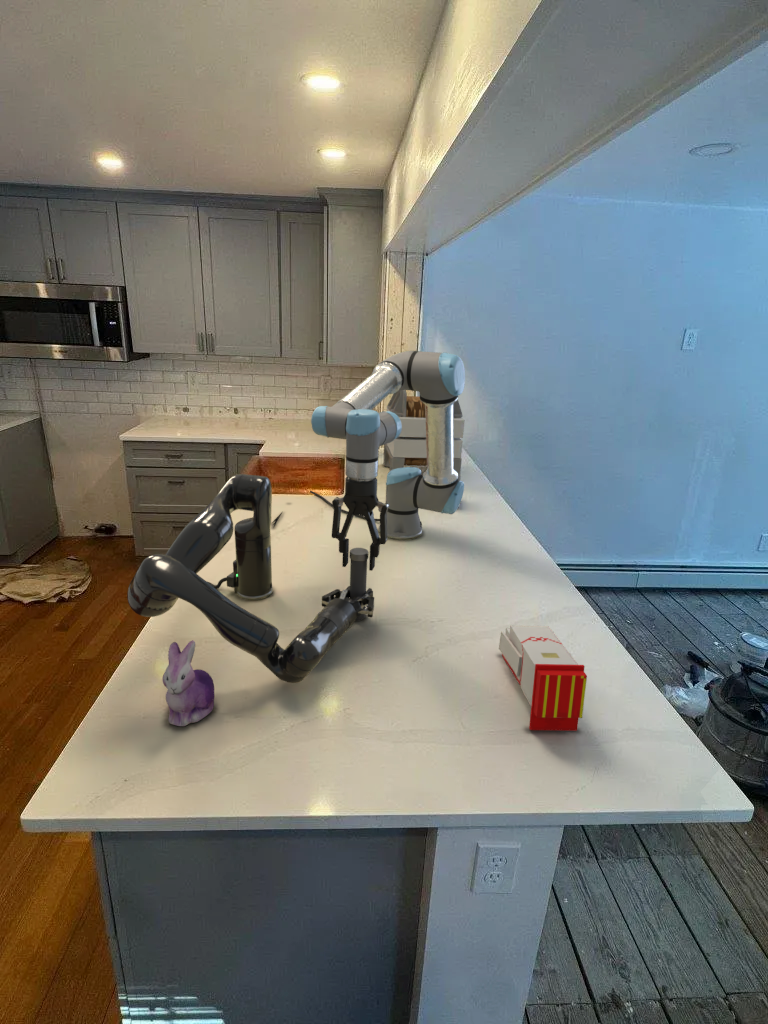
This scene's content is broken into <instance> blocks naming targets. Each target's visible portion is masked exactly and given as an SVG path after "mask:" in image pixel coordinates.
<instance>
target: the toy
mask: <svg viewBox="0 0 768 1024" xmlns="http://www.w3.org/2000/svg"><path fill="white" fill-rule="evenodd" d="M499 635H500V636H499V643H498V650H499V652H500V653H501V657H502V658H503V660H504V662H505V663H506V665H507V667H508V669H509V670H510V671H511V673H512V675H513V676H514V678H515V680H516V681H517V683H518V685H520V689H521V691H522V692H523V695H524V696H525V698H526V700H527V702H528V704H529V706H530V715H529V725H528V729H529V731H562V732H563V731H569V732H570V731H572V732H577V731H578V727H579V719H582V718H583V713H584V705H585V697H586V689H587V688H586V687H587V678H588V675H587V673H586V672H585V665H584V664H579V663H578V662H577V661H576V660H575V658H574V657H573V656H572V654H571V653H570V652H569V651H568V649H567V648H566V646H565V645H564V644H563V643H562V642H561V640H560V639H559V637H558V636H557V635H556V633H555V632H554V631H553V630H552V629H551V627H550V626H549V625H516V624H515V625H514V624H513V625H512V624H511V625H510V626H509V627H505V632H504V631H500V634H499Z"/></svg>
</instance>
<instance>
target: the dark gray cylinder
mask: <svg viewBox="0 0 768 1024" xmlns="http://www.w3.org/2000/svg"><path fill="white" fill-rule="evenodd" d="M349 564H350V565H349V568H350V569H349V570H350V571H349V586H350V598H351V599H354V598H356V597H358V596H363V595H364V593H365V592H366V591H367V579H368V578H367V577H368V576H367V575H368V559H367V560H365V561H354V560H351V559H350V563H349ZM365 607H366V606H365ZM365 607H363V609H364V608H365ZM365 619H366V614H361V615H360V616H358V617H357V618H356V619H355V621H354V622H359V621H363V620H365Z"/></svg>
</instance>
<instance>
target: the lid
mask: <svg viewBox="0 0 768 1024" xmlns="http://www.w3.org/2000/svg"><path fill="white" fill-rule="evenodd" d="M349 559H350V561H351V560H354V561H365V560H367V561H368V559H369V550H368V549H367V548H364V547H354V548H351V549H350V550H349Z"/></svg>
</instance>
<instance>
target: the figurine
mask: <svg viewBox="0 0 768 1024" xmlns="http://www.w3.org/2000/svg"><path fill="white" fill-rule="evenodd" d="M195 649H196V641H195V640H190V641H188V643H186V645H185V646H184V648H183V649H182V650H181V648H180V645H179V644H178V642H176V641H173V642H172V643H170V645H169V648H168V651H167V652H168V654H167V658H168V665H167V667H166V669H165V670H164V672H163V675H162V680H161V681H162V684H163V686H164V687H165V688H166V690H167V691H166V693H165V701H166V704H167V707H168V710H169V715H168V723H169V724H170V725H173V726H176V727H177V726H178V727H185V726H187V725H189V724H192V723H193V724H194V723H197V722H200V721H201V720H203V719H204V718H205V717H207V716H209V714H210V713H212V711H213V709H214V705H215V684H214V683H215V682H214V680H213V678H212V676H211V675H210V673H208V672H207V671H205V670H203V669H194V668H193V666H192V660H193V657H194V654H195Z"/></svg>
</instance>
